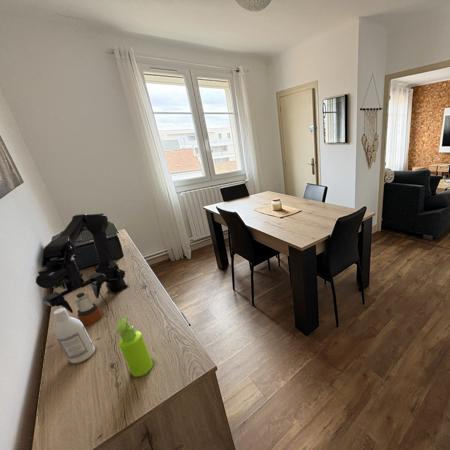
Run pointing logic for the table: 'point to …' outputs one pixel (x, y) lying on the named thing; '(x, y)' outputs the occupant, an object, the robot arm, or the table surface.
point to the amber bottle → (90, 315)
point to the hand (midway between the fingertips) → (85, 305)
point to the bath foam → (72, 337)
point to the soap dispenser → (134, 349)
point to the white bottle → (83, 302)
